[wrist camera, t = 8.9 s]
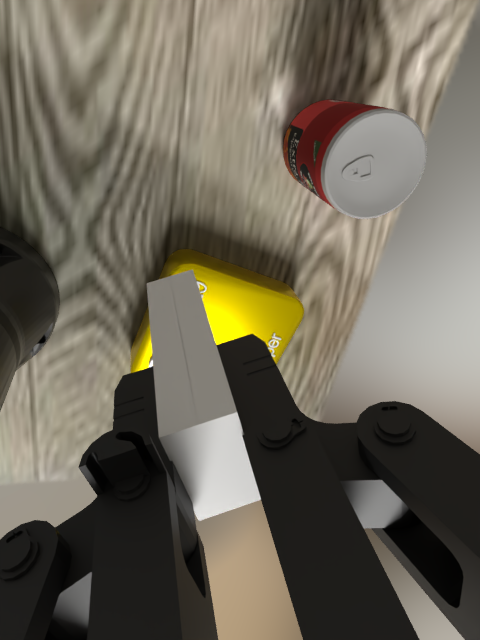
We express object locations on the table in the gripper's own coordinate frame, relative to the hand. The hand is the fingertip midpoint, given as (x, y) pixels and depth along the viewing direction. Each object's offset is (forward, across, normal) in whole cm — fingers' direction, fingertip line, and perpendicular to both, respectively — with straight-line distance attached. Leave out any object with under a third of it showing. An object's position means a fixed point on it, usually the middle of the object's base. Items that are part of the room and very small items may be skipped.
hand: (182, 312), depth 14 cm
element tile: (+29, +1, -19) cm, 34 cm away
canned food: (+28, +16, -3) cm, 32 cm away
